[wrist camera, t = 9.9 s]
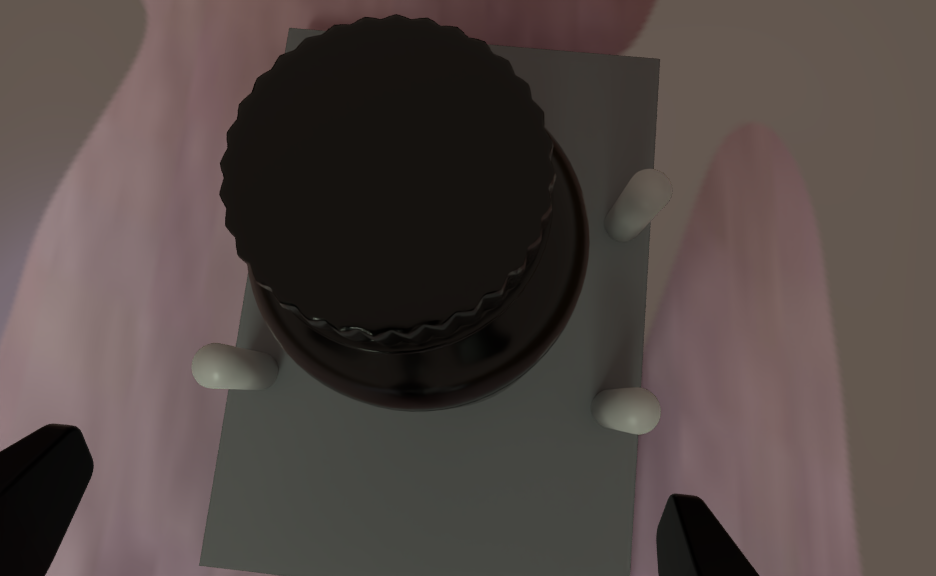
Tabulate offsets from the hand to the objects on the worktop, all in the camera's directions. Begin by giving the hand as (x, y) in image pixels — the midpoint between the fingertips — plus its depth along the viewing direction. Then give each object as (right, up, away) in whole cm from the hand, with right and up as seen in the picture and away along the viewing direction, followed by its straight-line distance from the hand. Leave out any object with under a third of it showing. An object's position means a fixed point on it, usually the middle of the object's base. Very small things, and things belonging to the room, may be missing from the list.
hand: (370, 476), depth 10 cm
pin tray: (+1, +2, +12) cm, 12 cm away
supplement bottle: (+1, +2, +11) cm, 11 cm away
